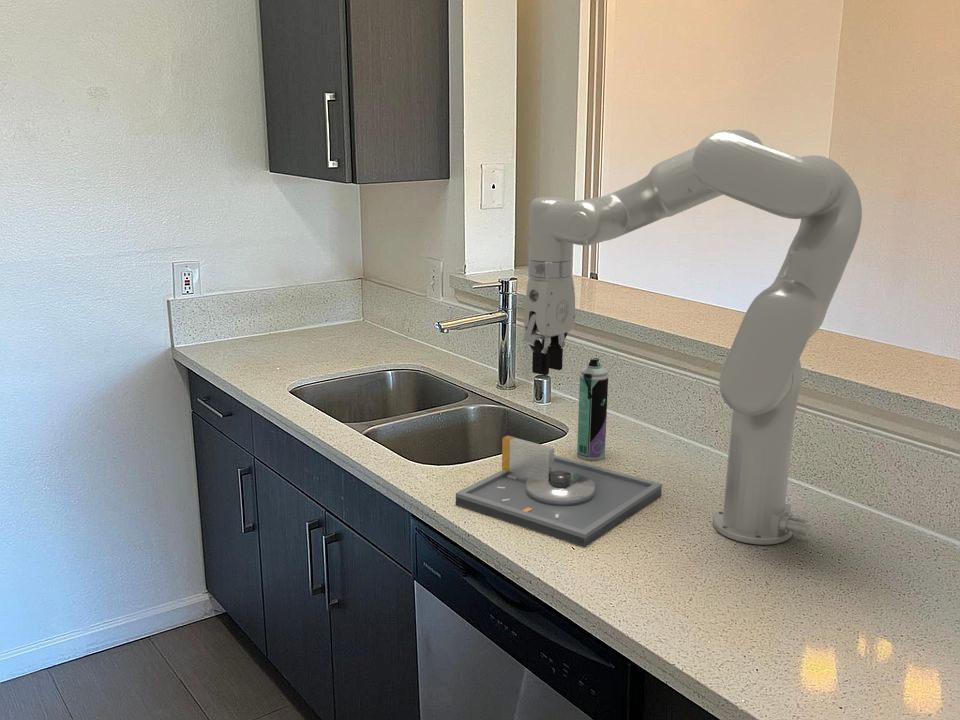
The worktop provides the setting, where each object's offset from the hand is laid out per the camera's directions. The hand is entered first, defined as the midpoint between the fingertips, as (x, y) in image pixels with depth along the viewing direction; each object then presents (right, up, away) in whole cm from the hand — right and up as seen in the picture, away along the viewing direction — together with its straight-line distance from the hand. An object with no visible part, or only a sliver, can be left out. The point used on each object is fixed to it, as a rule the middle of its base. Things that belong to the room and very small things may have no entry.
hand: (547, 370), depth 164 cm
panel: (+2, -23, -3) cm, 23 cm away
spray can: (+10, -17, +18) cm, 27 cm away
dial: (0, -21, -1) cm, 21 cm away
